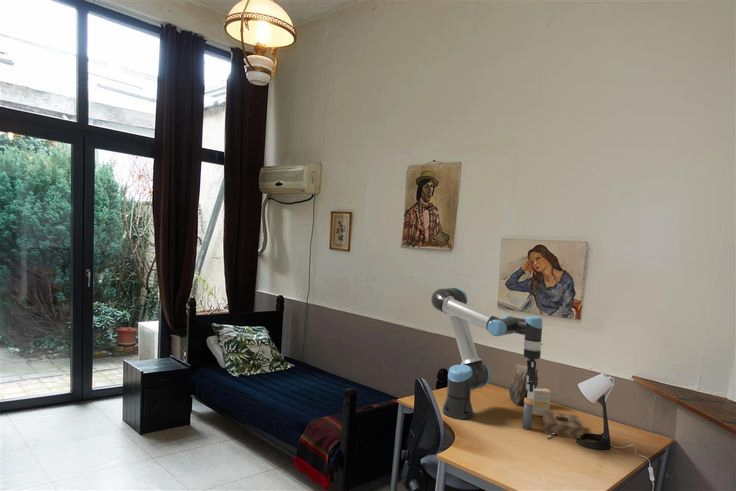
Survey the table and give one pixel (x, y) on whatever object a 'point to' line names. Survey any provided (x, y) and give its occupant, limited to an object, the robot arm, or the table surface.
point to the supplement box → (541, 401)
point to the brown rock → (520, 384)
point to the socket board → (562, 424)
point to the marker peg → (527, 413)
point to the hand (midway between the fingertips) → (529, 393)
